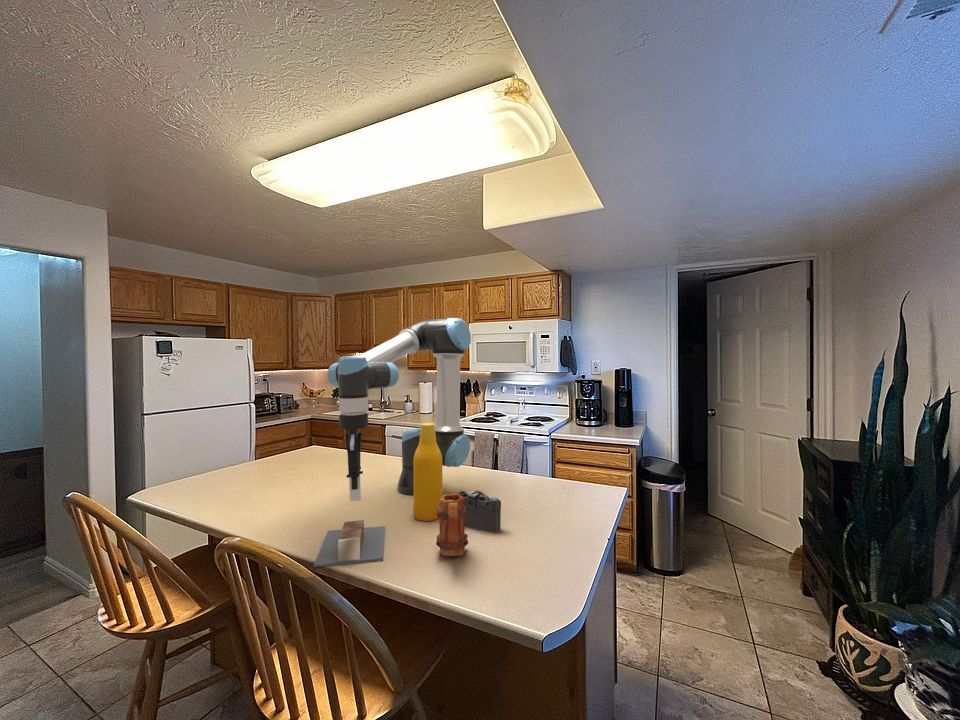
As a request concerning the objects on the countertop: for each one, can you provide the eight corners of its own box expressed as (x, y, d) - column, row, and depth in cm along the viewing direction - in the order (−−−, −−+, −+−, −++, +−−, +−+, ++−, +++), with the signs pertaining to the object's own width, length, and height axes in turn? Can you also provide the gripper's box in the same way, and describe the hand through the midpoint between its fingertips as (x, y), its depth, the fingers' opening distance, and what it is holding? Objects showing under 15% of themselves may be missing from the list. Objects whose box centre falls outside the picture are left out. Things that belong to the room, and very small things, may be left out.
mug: (436, 545, 109) (436, 488, 109) (467, 543, 109) (466, 487, 109) (435, 573, 94) (434, 508, 94) (470, 571, 95) (470, 507, 95)
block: (363, 520, 112) (359, 538, 100) (363, 538, 111) (359, 559, 100) (344, 521, 111) (338, 540, 99) (344, 540, 111) (338, 561, 99)
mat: (385, 527, 120) (385, 525, 120) (382, 560, 100) (382, 558, 100) (328, 532, 117) (328, 530, 117) (313, 567, 97) (313, 564, 97)
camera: (510, 520, 125) (510, 488, 125) (496, 534, 115) (495, 499, 115) (469, 513, 131) (469, 482, 132) (452, 525, 122) (452, 492, 122)
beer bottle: (407, 518, 127) (407, 425, 127) (422, 508, 135) (422, 421, 135) (434, 523, 123) (433, 427, 123) (447, 512, 132) (447, 422, 132)
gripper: (342, 410, 116) (343, 493, 116) (335, 417, 103) (337, 509, 104) (369, 409, 118) (371, 490, 118) (366, 415, 105) (367, 507, 105)
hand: (355, 499), depth 111 cm, fingers closed
